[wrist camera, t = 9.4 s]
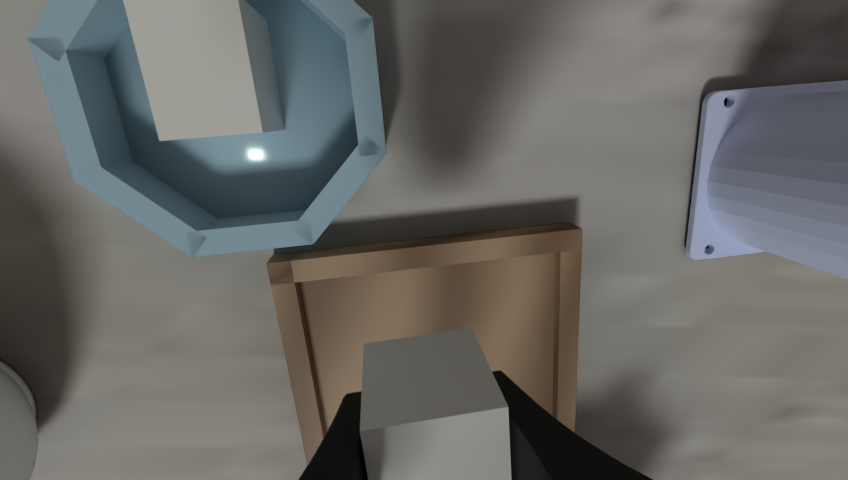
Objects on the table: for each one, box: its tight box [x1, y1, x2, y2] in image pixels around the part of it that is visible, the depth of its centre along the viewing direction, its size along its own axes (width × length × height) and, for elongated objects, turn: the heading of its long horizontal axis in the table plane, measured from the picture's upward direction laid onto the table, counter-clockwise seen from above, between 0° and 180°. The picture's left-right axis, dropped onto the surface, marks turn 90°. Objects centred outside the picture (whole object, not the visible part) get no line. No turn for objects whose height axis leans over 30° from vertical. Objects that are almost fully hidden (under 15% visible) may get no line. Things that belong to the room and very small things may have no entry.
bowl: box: [27, 0, 387, 258], centre depth 15 cm, size 11×11×2 cm
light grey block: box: [123, 0, 285, 141], centre depth 14 cm, size 3×4×4 cm
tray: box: [267, 223, 582, 465], centre depth 21 cm, size 14×15×1 cm
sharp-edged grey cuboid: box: [360, 328, 512, 480], centre depth 11 cm, size 3×4×4 cm
